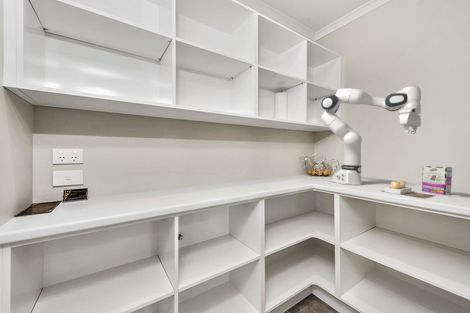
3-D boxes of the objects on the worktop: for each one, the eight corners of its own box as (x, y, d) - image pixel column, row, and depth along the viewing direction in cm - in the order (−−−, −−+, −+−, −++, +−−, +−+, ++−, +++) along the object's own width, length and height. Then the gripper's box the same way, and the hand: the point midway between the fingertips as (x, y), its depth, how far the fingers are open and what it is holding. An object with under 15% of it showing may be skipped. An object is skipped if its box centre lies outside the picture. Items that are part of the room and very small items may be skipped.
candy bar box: (451, 196, 106) (453, 167, 106) (445, 197, 105) (446, 167, 105) (427, 192, 117) (428, 165, 117) (421, 192, 116) (422, 165, 116)
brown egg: (397, 193, 108) (398, 182, 108) (389, 191, 112) (389, 181, 111) (401, 192, 110) (401, 182, 110) (392, 191, 114) (393, 181, 113)
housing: (384, 191, 112) (384, 181, 112) (396, 189, 119) (396, 179, 119) (400, 194, 106) (400, 183, 106) (411, 192, 112) (411, 181, 112)
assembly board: (379, 192, 114) (379, 191, 114) (392, 190, 121) (392, 188, 121) (424, 200, 97) (424, 198, 96) (436, 197, 104) (436, 195, 104)
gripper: (412, 114, 131) (411, 134, 131) (397, 110, 122) (396, 132, 122) (424, 112, 125) (423, 133, 126) (410, 109, 116) (409, 131, 116)
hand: (410, 133), depth 124 cm, fingers open, 8 cm apart
